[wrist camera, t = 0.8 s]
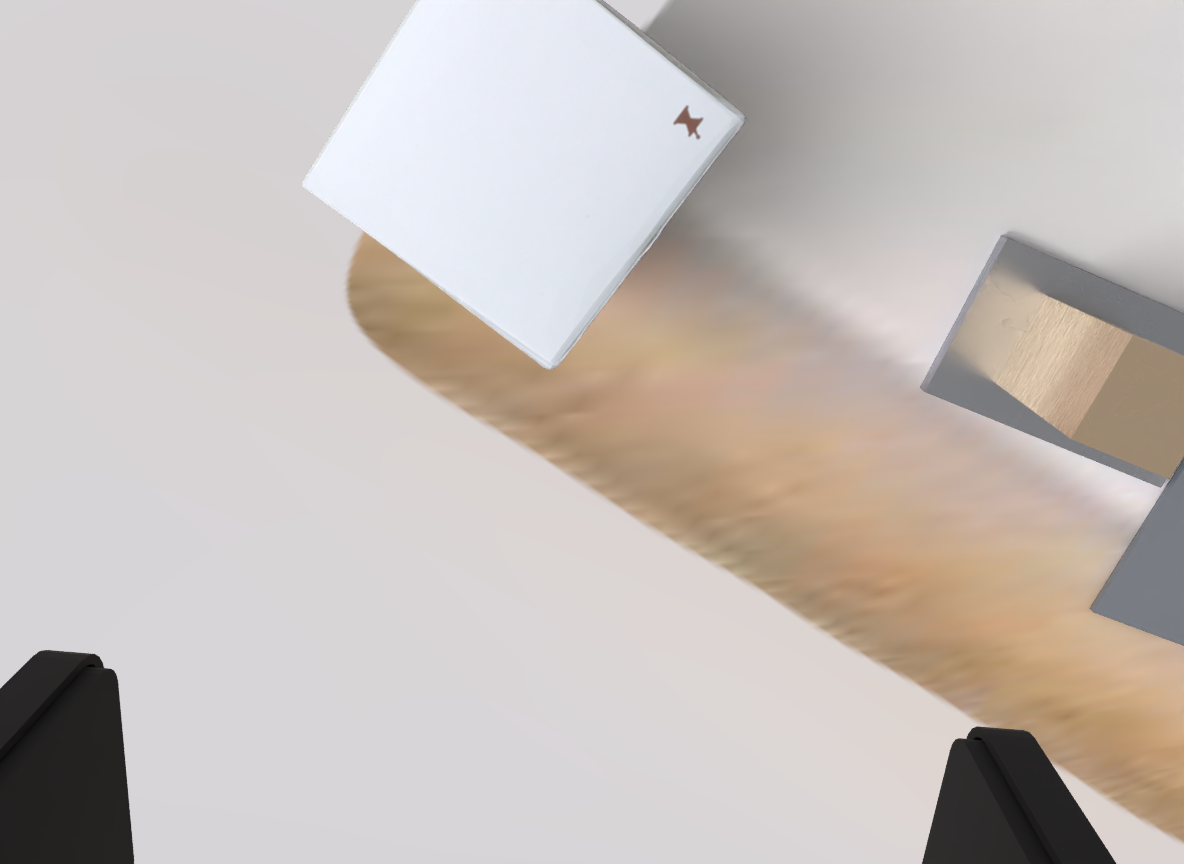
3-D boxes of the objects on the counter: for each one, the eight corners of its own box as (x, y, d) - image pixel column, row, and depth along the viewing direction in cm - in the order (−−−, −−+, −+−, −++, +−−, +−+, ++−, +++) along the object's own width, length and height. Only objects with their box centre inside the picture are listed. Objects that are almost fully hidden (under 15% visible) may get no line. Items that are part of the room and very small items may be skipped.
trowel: (1239, 338, 36) (1378, 392, 29) (1149, 479, 38) (1262, 559, 31) (998, 234, 35) (1089, 267, 28) (917, 385, 36) (985, 448, 30)
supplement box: (525, -37, 32) (482, -115, 20) (701, 111, 33) (761, 120, 21) (397, 151, 34) (288, 183, 22) (569, 283, 35) (556, 380, 23)
